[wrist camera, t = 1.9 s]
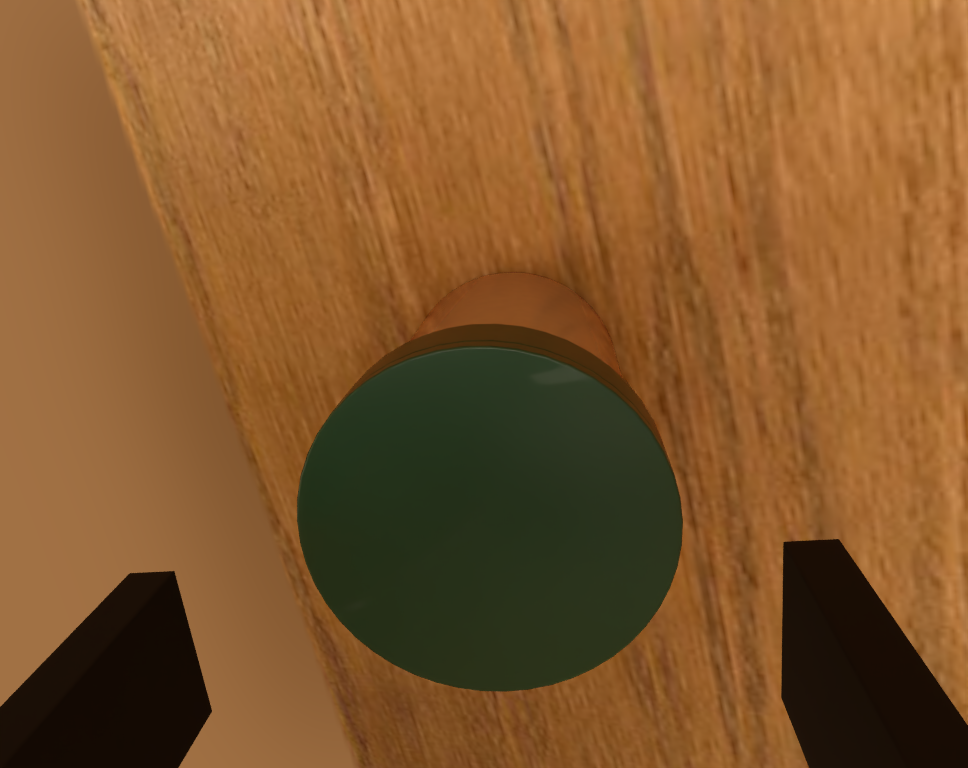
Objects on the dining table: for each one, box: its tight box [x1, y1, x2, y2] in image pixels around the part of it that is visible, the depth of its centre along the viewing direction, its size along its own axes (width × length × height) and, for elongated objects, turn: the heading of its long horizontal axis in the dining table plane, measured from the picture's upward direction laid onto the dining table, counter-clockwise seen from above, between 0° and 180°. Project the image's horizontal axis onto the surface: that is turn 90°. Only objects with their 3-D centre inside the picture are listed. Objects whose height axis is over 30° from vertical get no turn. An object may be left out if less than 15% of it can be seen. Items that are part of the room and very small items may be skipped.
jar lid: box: [297, 324, 683, 691], centre depth 16 cm, size 8×8×2 cm
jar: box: [409, 272, 622, 377], centre depth 20 cm, size 7×7×10 cm
